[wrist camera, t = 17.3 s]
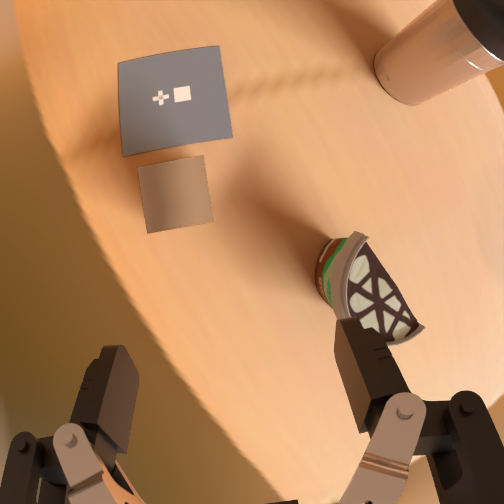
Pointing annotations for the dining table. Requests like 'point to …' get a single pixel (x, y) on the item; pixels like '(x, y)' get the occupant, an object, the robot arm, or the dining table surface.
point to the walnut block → (175, 194)
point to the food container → (363, 289)
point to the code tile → (172, 100)
